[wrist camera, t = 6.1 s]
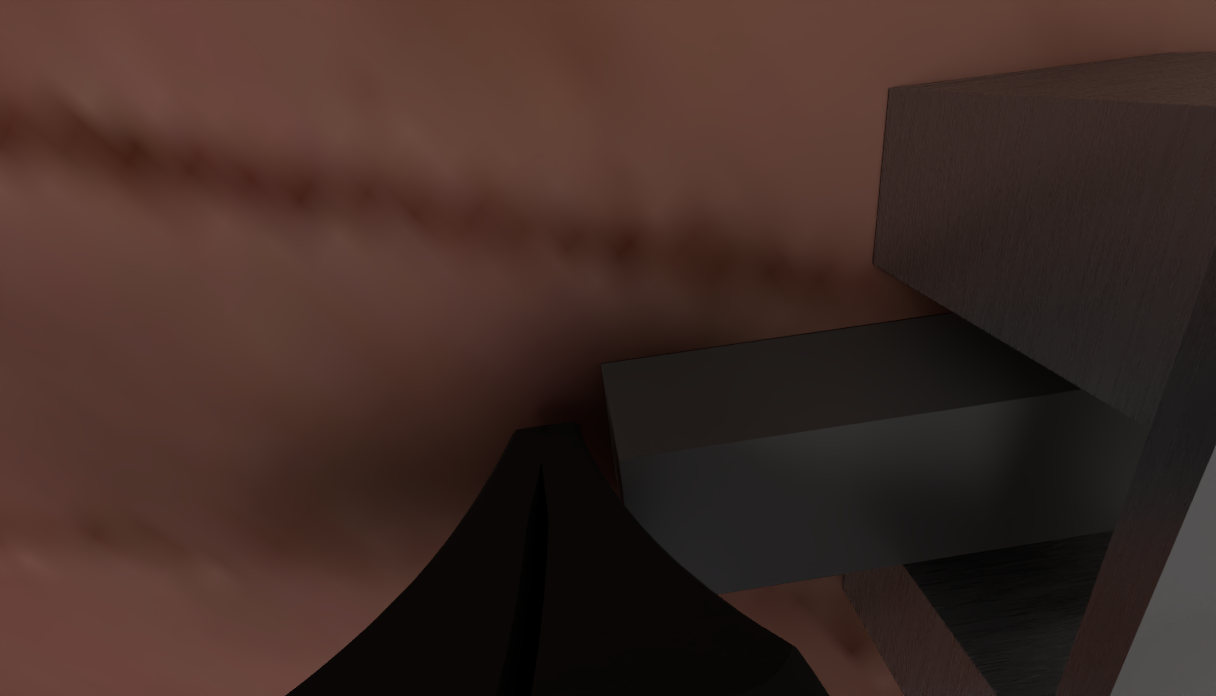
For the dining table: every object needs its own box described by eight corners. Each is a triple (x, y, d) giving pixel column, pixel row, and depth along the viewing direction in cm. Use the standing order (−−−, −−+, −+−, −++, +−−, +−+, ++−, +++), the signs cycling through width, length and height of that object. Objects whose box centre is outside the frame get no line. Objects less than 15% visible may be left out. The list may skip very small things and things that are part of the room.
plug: (1319, 403, 14) (1682, 560, 10) (620, 511, 13) (658, 734, 9) (1410, 217, 12) (1921, 306, 8) (596, 334, 11) (630, 505, 7)
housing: (1026, 558, 15) (1334, 871, 9) (842, 588, 15) (1036, 926, 9) (1168, 53, 10) (2066, 29, 4) (889, 88, 10) (1408, 117, 4)
